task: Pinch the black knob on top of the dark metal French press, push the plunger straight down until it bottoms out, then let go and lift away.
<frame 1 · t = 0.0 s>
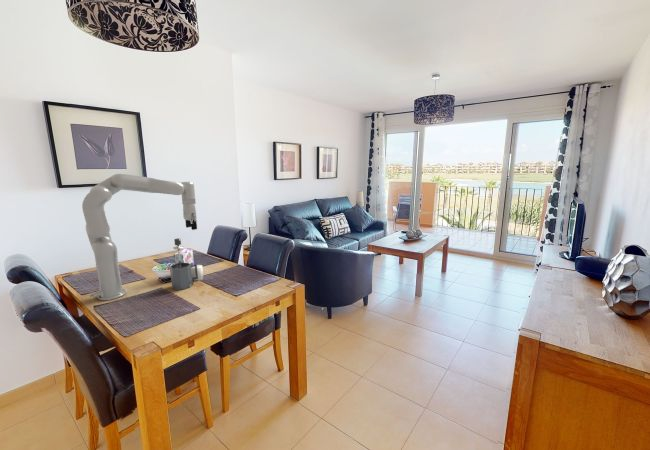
hand: (191, 228, 182), 31 cm above the table, fingers open, 9 cm apart
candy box: (185, 275, 187), on the table
mug: (197, 278, 181), on the table
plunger: (179, 255, 165), point 19 cm above the table, slide at 8.0 cm
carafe: (182, 286, 169), on the table
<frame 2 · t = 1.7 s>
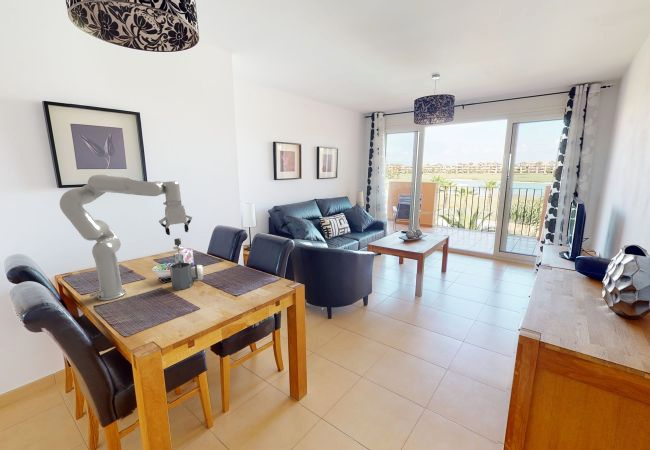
hand: (177, 233, 163), 32 cm above the table, fingers open, 9 cm apart
nothing on the table moved.
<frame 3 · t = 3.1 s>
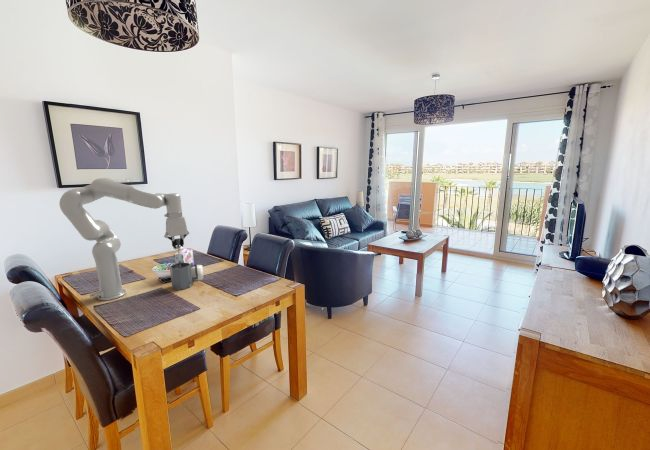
hand: (178, 246, 164), 25 cm above the table, fingers closed on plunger, 3 cm apart
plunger: (179, 255, 165), point 19 cm above the table, slide at 8.0 cm, touching gripper
everything else where it was.
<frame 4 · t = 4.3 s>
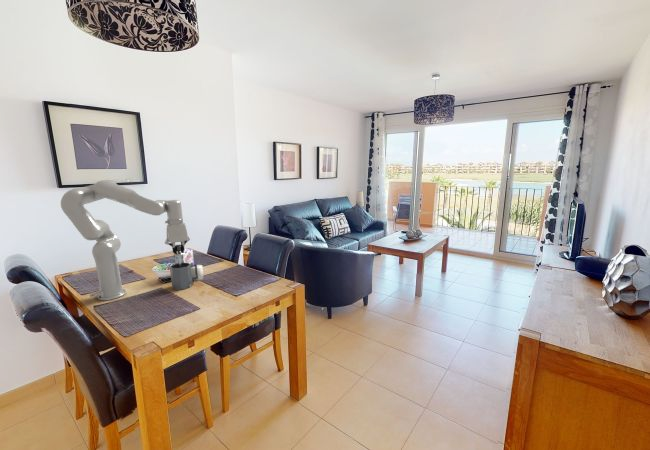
hand: (178, 252, 165), 21 cm above the table, fingers closed on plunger, 3 cm apart
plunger: (179, 261, 166), point 15 cm above the table, slide at 4.3 cm, touching gripper
everything else where it was.
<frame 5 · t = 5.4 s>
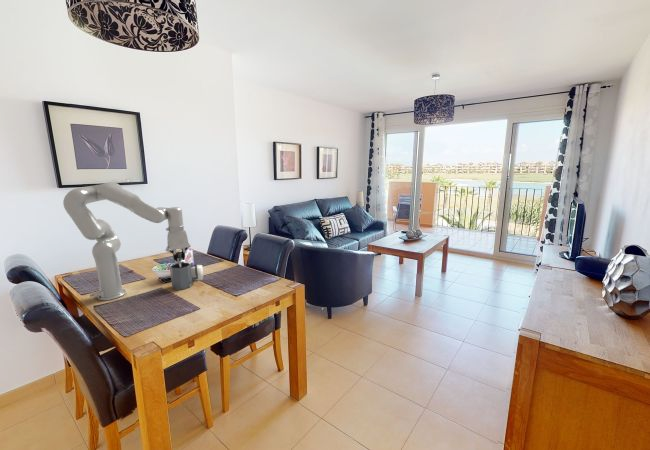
hand: (179, 259, 166), 17 cm above the table, fingers closed on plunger, 3 cm apart
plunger: (180, 268, 167), point 11 cm above the table, slide at 0.1 cm, touching gripper
everything else where it was.
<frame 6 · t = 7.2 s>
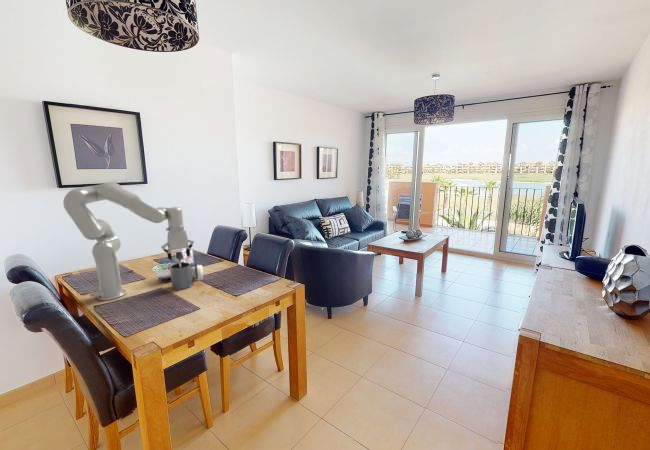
hand: (179, 257, 166), 18 cm above the table, fingers open, 9 cm apart
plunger: (180, 268, 167), point 11 cm above the table, slide at 0.1 cm
everything else where it was.
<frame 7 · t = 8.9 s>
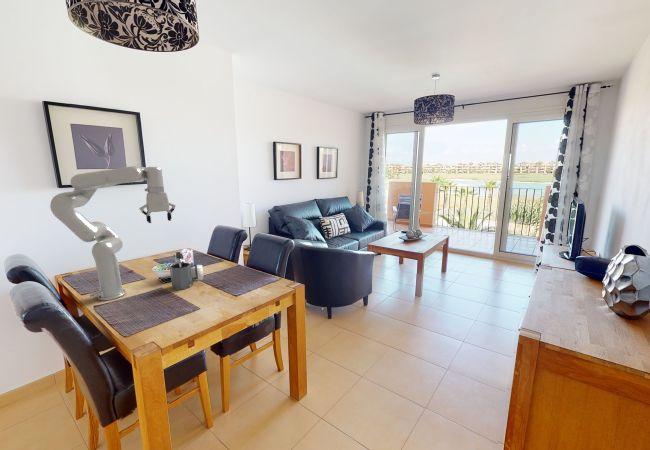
hand: (159, 221, 156), 40 cm above the table, fingers open, 9 cm apart
nothing on the table moved.
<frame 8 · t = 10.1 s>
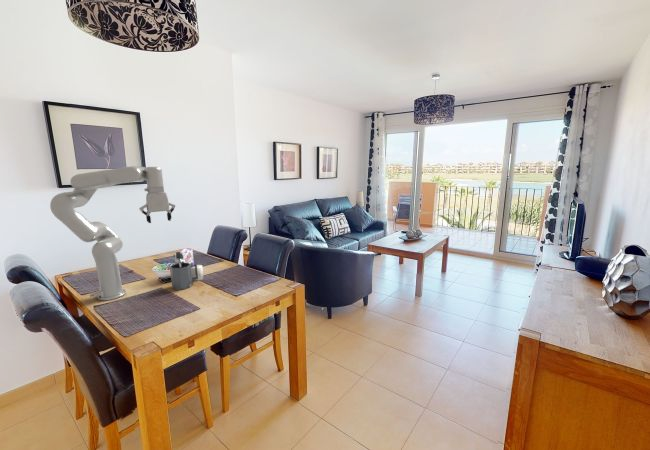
hand: (159, 221, 156), 40 cm above the table, fingers open, 9 cm apart
nothing on the table moved.
at the end: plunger slide at 0.1 cm; the gripper is holding nothing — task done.
